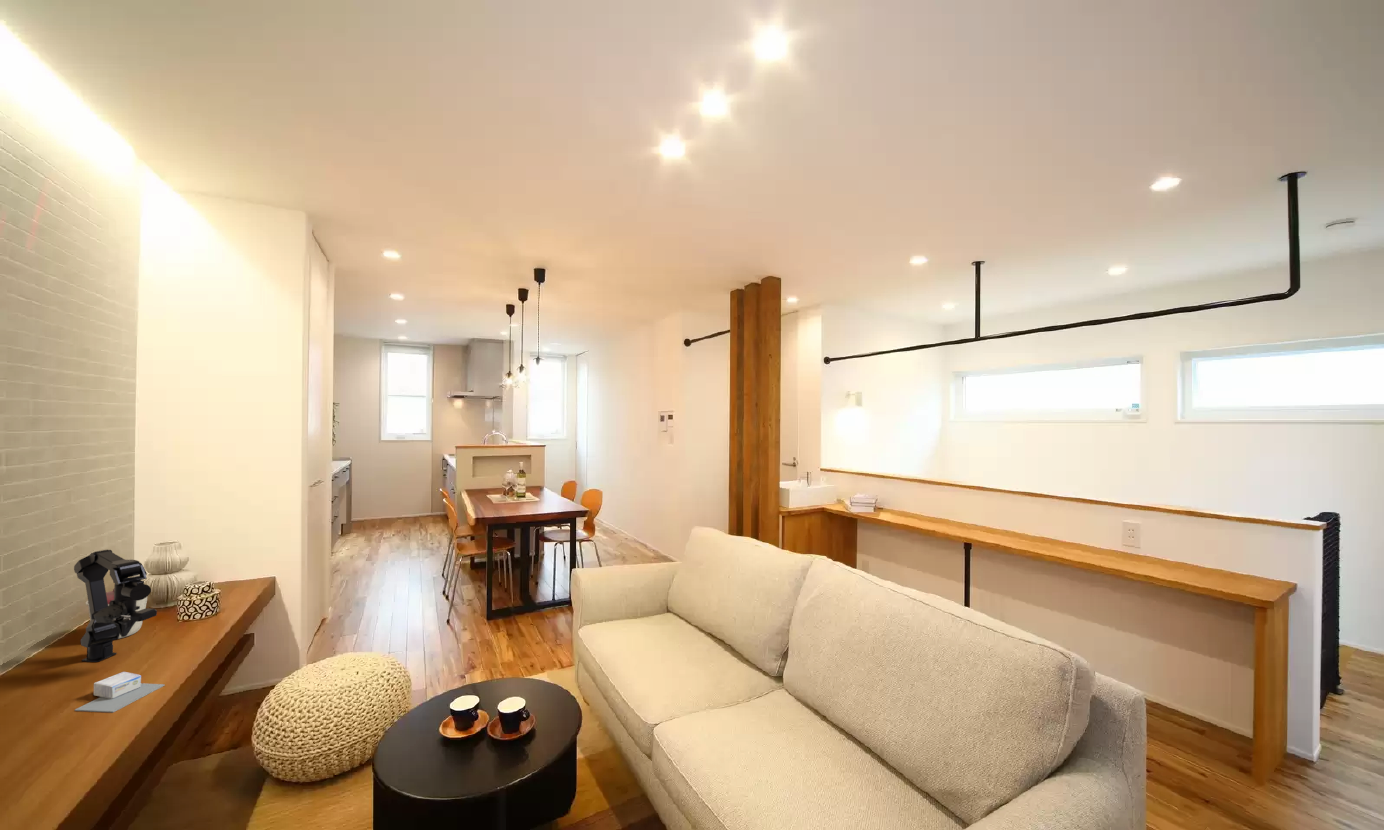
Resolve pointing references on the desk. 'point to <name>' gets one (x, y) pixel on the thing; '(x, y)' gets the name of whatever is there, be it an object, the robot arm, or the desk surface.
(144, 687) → the slate mat
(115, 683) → the medicine box
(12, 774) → the desk surface
